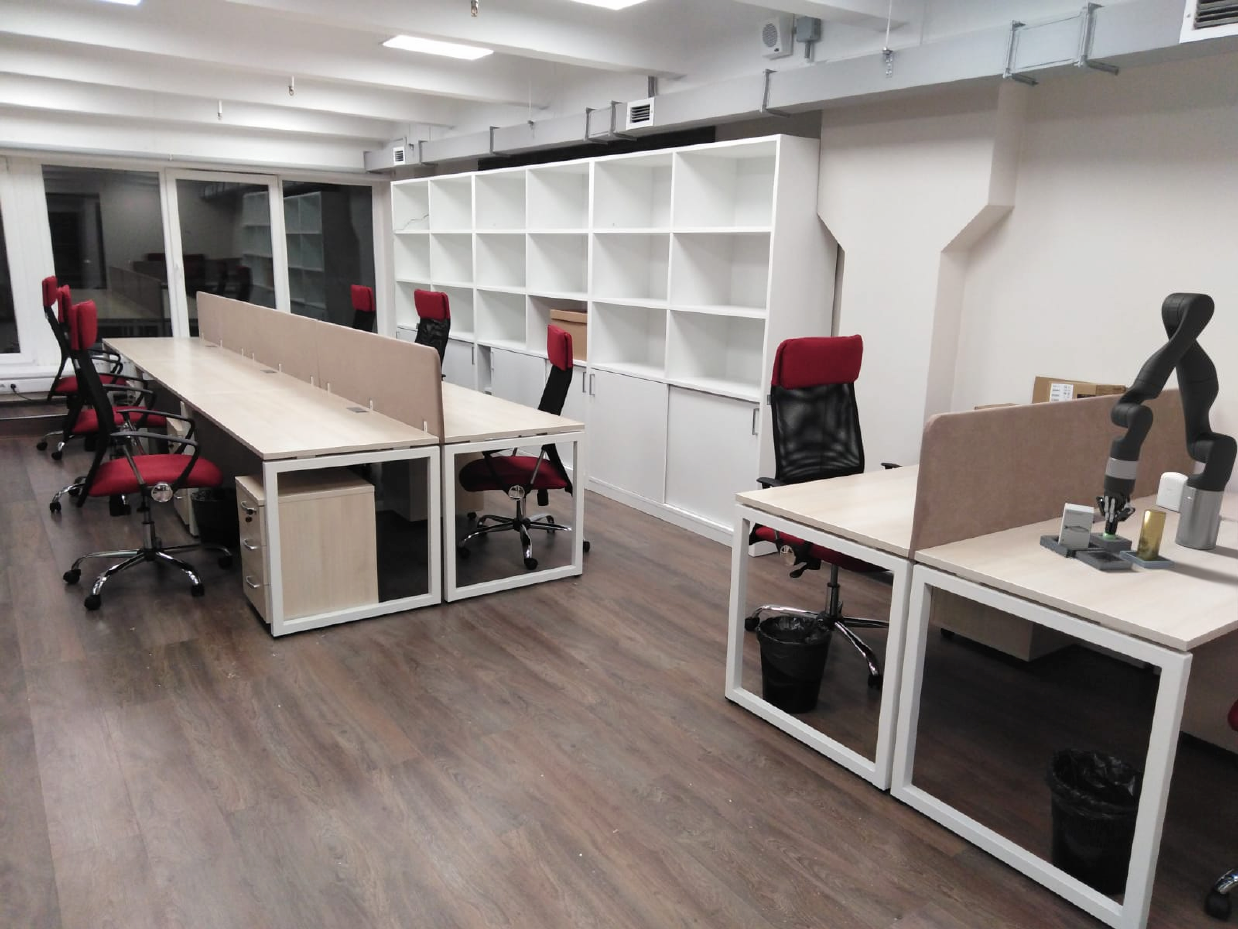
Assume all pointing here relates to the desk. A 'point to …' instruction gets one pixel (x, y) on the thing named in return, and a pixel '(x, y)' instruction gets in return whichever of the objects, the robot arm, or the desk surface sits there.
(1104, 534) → the button
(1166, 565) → the tote tray
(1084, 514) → the supplement box
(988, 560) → the desk surface
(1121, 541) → the grey square socket block
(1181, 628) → the desk surface
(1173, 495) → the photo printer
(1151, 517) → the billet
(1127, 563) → the gray compartment tray
